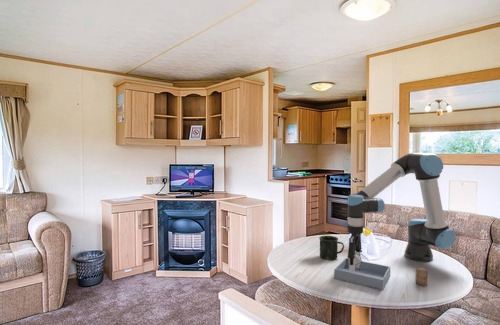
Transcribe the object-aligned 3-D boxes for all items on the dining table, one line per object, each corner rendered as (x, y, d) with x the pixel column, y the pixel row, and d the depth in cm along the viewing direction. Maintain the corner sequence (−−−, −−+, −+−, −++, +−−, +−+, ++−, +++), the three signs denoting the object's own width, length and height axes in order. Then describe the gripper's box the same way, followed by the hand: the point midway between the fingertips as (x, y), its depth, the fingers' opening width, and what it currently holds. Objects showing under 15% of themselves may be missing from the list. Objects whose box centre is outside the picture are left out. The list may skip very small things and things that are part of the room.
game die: (355, 277, 159) (354, 266, 153) (343, 266, 166) (341, 255, 160) (367, 266, 162) (367, 255, 156) (354, 256, 168) (353, 245, 162)
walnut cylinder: (416, 280, 155) (416, 267, 154) (427, 283, 152) (428, 269, 152) (415, 284, 151) (415, 270, 150) (426, 287, 148) (427, 272, 147)
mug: (318, 253, 194) (319, 235, 194) (343, 255, 191) (343, 236, 191) (319, 260, 184) (319, 240, 183) (344, 261, 181) (344, 241, 180)
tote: (345, 266, 173) (345, 257, 173) (390, 276, 161) (390, 266, 160) (334, 278, 158) (334, 269, 157) (382, 290, 145) (383, 280, 144)
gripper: (353, 219, 171) (353, 259, 172) (341, 228, 153) (340, 272, 154) (368, 221, 167) (367, 262, 168) (356, 231, 149) (356, 276, 150)
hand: (354, 267), depth 161 cm, fingers closed on game die, 10 cm apart
